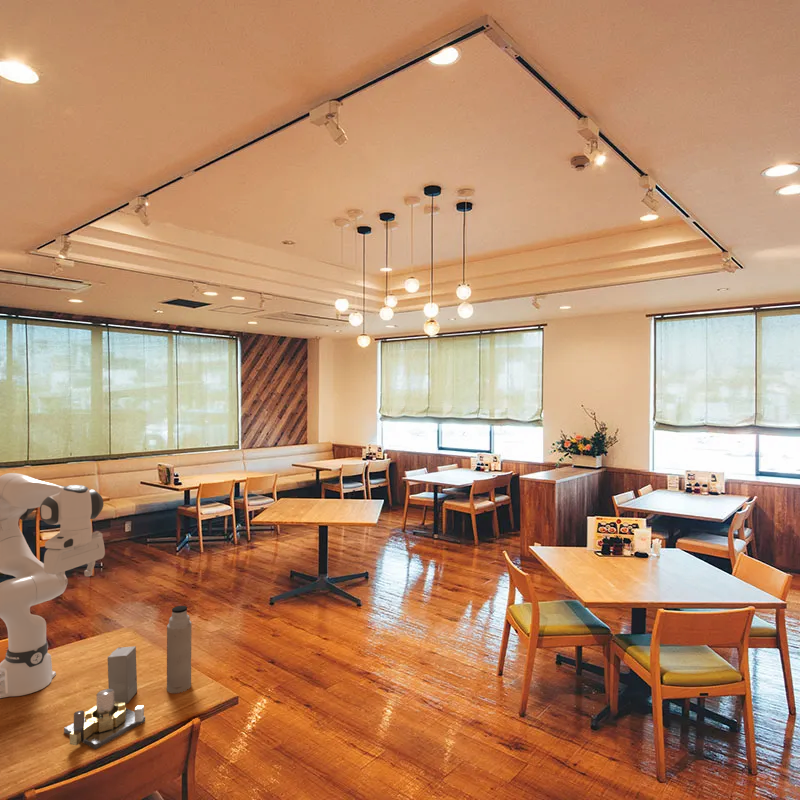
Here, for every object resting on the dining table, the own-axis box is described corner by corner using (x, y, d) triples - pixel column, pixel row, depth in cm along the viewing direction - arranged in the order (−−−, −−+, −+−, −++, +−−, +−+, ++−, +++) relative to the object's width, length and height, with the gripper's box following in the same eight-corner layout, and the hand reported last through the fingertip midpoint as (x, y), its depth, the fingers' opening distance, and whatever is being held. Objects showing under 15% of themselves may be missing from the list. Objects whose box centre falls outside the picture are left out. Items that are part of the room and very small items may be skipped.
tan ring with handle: (104, 708, 176) (104, 683, 176) (133, 713, 174) (133, 688, 174) (57, 741, 160) (57, 714, 160) (88, 747, 157) (89, 719, 157)
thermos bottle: (162, 693, 189) (163, 612, 189) (172, 681, 197) (172, 603, 197) (186, 693, 189) (186, 612, 189) (194, 681, 197) (194, 603, 197)
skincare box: (128, 704, 183) (128, 656, 183) (105, 705, 182) (106, 657, 182) (138, 690, 191) (138, 645, 191) (117, 691, 190) (117, 645, 190)
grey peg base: (64, 732, 167) (64, 698, 167) (114, 707, 181) (114, 675, 181) (98, 751, 158) (98, 714, 158) (148, 722, 172) (148, 689, 172)
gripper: (94, 529, 186) (94, 570, 186) (39, 544, 167) (40, 589, 167) (109, 530, 185) (109, 571, 185) (56, 545, 165) (56, 591, 165)
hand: (76, 580), depth 175 cm, fingers open, 8 cm apart
